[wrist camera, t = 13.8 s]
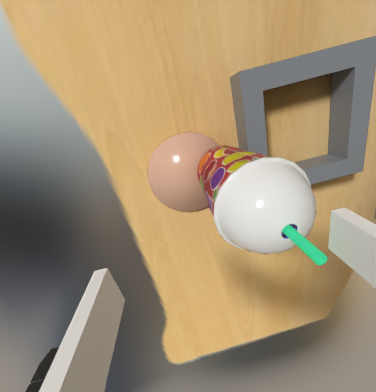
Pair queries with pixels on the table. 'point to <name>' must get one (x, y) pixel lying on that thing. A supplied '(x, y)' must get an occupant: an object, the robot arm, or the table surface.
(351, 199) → the table surface
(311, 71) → the holder
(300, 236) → the smoothie
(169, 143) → the pink flat disc
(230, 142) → the table surface
